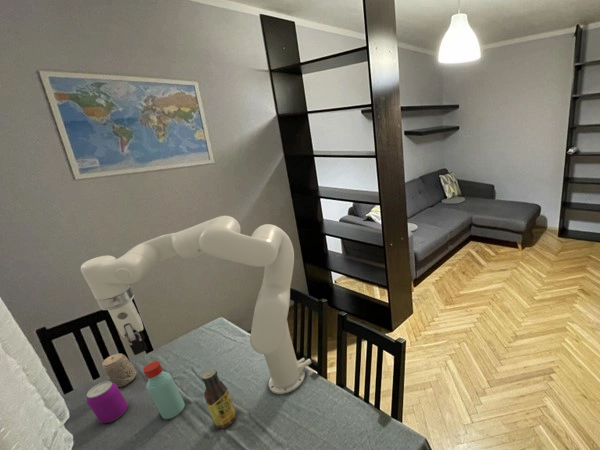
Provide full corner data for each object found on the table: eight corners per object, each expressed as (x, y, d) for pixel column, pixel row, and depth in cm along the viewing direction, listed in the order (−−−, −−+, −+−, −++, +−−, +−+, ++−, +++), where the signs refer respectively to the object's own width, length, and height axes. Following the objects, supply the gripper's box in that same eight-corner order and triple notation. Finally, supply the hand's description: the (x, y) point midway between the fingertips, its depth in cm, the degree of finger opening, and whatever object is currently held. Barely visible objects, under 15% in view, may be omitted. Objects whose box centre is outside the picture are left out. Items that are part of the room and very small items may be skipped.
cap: (161, 365, 103) (158, 359, 102) (163, 372, 100) (160, 366, 99) (145, 373, 100) (142, 366, 99) (147, 380, 97) (143, 374, 96)
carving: (110, 387, 118) (95, 363, 113) (131, 372, 124) (119, 348, 120) (119, 392, 115) (105, 368, 111) (141, 376, 122) (129, 352, 117)
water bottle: (182, 397, 111) (162, 356, 103) (186, 409, 106) (165, 366, 99) (160, 410, 107) (137, 368, 99) (163, 423, 102) (140, 379, 95)
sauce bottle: (228, 431, 98) (208, 385, 90) (211, 428, 99) (190, 382, 92) (241, 411, 104) (224, 367, 96) (225, 409, 105) (206, 365, 98)
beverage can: (96, 429, 102) (79, 403, 98) (104, 410, 109) (88, 385, 104) (125, 417, 105) (110, 392, 101) (131, 400, 112) (117, 375, 107)
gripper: (135, 303, 85) (159, 354, 92) (129, 281, 97) (151, 327, 104) (99, 317, 81) (127, 369, 88) (97, 292, 93) (122, 339, 99)
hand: (139, 346), depth 96 cm, fingers open, 5 cm apart
